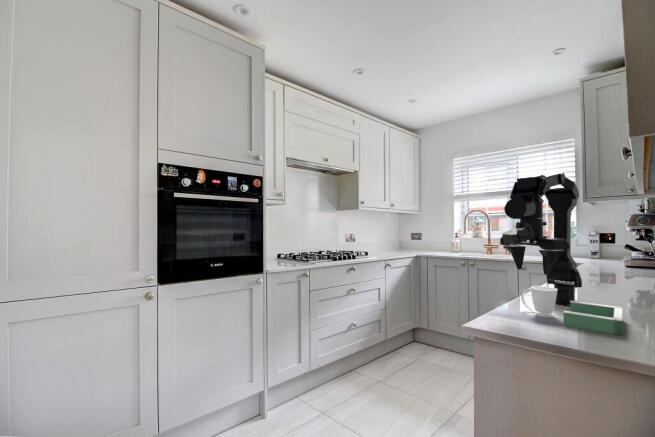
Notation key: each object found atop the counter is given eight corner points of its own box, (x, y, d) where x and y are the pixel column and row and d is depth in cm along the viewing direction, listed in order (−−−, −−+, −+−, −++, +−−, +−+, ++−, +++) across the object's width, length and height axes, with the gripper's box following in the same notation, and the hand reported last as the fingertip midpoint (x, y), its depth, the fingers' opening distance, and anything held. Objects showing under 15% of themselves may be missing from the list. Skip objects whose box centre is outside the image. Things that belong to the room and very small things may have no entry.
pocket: (571, 312, 98) (570, 300, 98) (622, 320, 90) (622, 307, 90) (563, 325, 86) (563, 311, 86) (622, 335, 78) (621, 320, 78)
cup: (550, 320, 90) (550, 291, 91) (515, 311, 99) (515, 285, 99) (563, 316, 94) (563, 289, 94) (528, 308, 103) (528, 283, 103)
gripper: (484, 219, 101) (485, 268, 101) (535, 219, 83) (536, 279, 83) (514, 218, 103) (515, 266, 103) (570, 218, 85) (571, 276, 85)
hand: (532, 271), depth 93 cm, fingers open, 9 cm apart
